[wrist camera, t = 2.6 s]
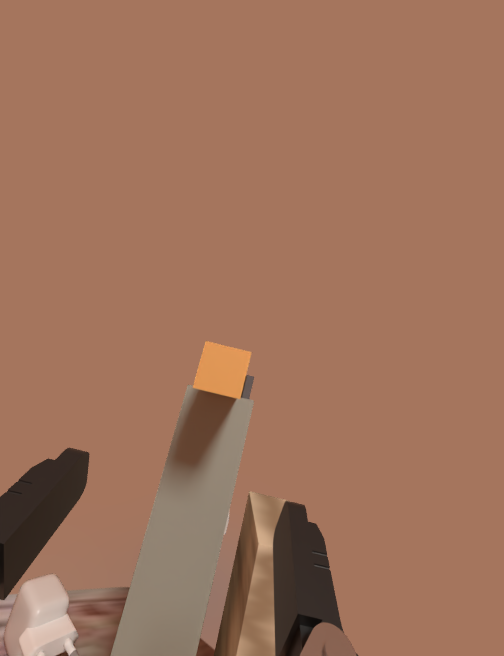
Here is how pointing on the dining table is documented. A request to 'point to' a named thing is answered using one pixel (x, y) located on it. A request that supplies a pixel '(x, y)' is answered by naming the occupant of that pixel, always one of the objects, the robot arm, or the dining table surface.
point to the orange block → (222, 370)
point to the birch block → (252, 584)
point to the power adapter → (40, 620)
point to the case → (186, 527)
